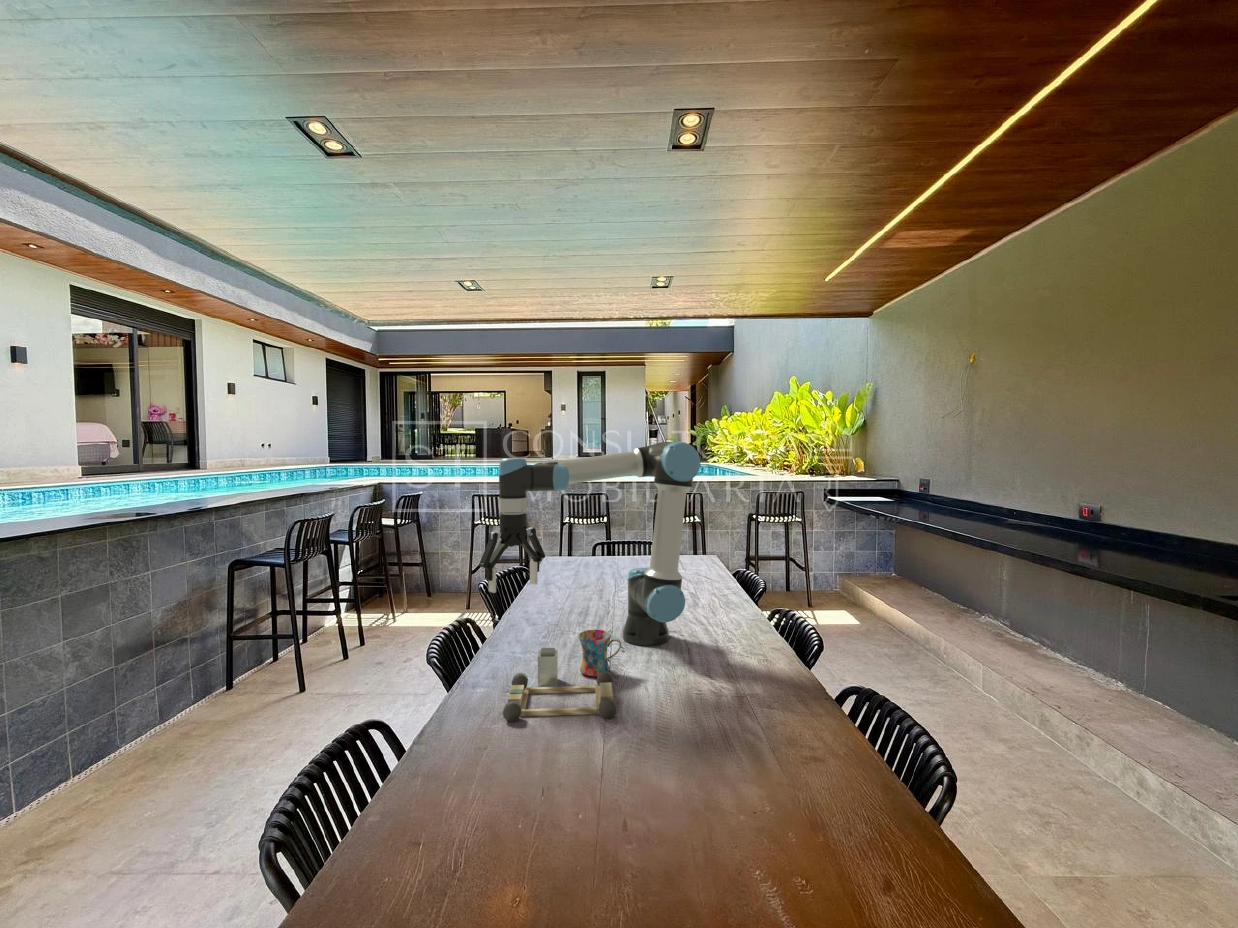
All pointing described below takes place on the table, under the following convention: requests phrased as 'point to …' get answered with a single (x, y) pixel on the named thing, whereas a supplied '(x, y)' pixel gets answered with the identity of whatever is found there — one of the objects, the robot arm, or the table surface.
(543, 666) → the engine block
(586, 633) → the mug
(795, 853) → the table surface
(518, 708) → the chassis
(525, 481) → the robot arm
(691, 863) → the table surface
